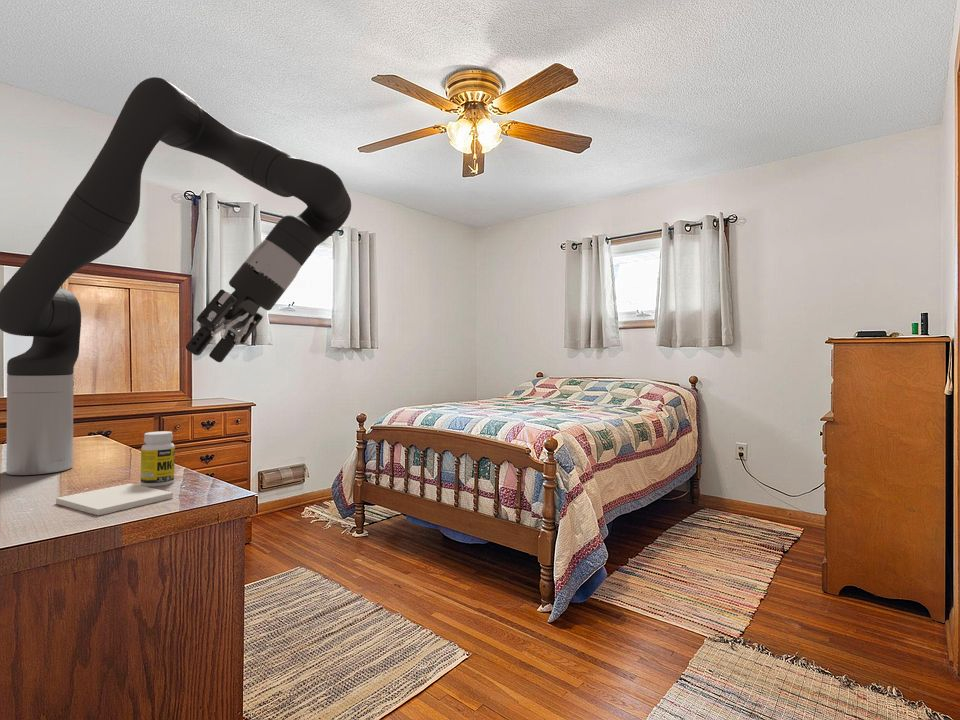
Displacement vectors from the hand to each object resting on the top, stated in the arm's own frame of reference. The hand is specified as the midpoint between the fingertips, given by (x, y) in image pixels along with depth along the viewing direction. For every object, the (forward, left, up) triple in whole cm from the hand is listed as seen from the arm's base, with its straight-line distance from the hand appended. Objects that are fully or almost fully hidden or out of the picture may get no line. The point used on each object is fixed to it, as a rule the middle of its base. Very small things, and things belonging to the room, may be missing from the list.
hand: (203, 356), depth 84 cm
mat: (-4, -10, -21) cm, 24 cm away
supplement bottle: (-9, -1, -21) cm, 23 cm away
